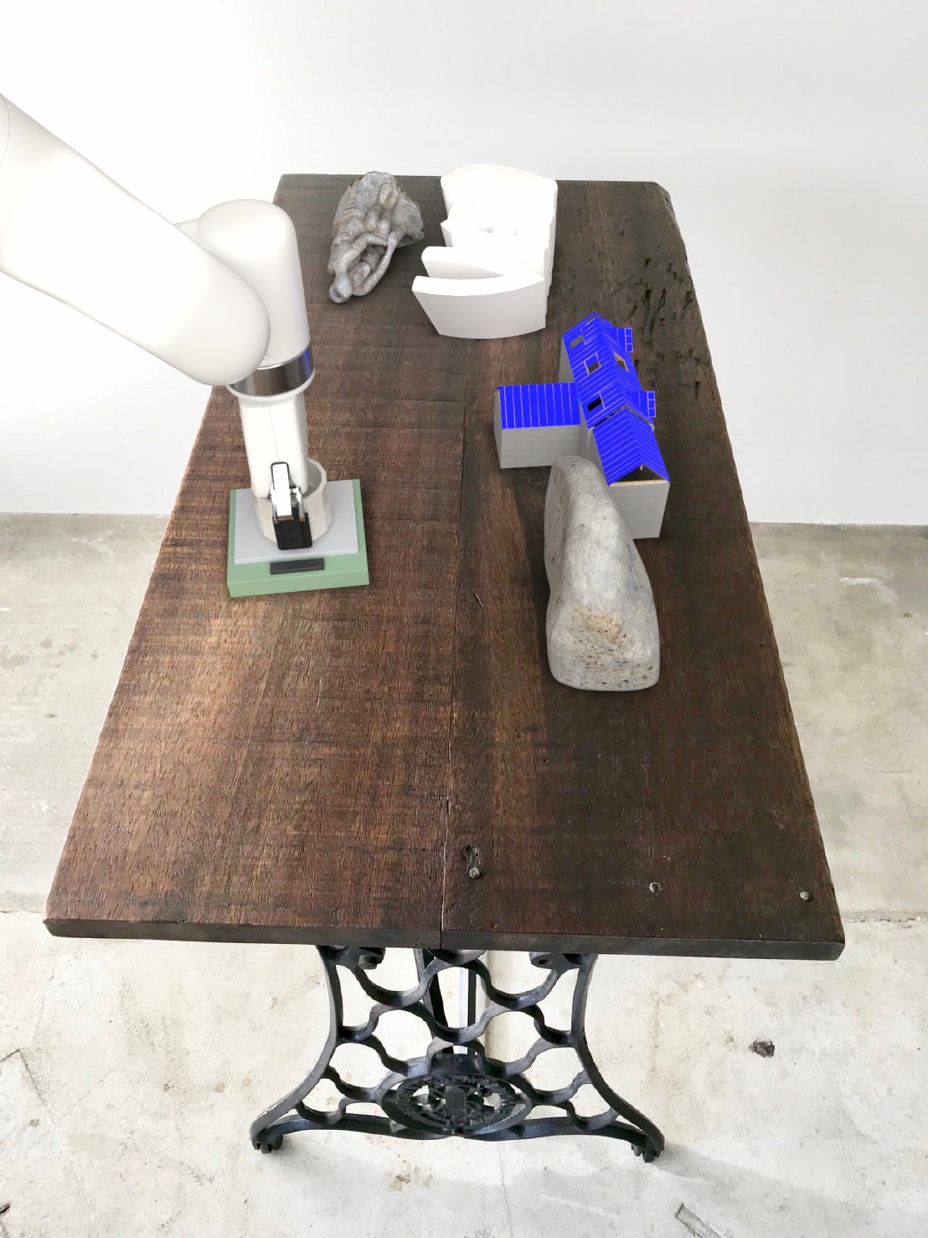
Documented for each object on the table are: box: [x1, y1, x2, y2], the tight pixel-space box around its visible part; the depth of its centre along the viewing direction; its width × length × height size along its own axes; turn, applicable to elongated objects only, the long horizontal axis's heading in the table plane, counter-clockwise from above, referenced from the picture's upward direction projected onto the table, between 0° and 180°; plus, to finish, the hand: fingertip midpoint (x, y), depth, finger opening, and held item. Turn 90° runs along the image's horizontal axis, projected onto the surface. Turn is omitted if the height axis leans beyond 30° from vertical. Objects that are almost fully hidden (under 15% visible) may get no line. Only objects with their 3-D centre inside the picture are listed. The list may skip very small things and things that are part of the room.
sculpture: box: [326, 170, 426, 304], centre depth 125 cm, size 11×18×12 cm
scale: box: [226, 478, 370, 598], centre depth 94 cm, size 13×13×3 cm
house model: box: [493, 310, 671, 540], centre depth 100 cm, size 25×15×10 cm, turn 5°
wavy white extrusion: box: [411, 163, 559, 340], centre depth 123 cm, size 35×16×10 cm, turn 170°
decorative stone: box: [543, 456, 661, 692], centre depth 82 cm, size 17×20×10 cm
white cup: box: [250, 456, 332, 543], centre depth 91 cm, size 7×7×6 cm
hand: (294, 517), depth 93 cm, fingers closed on white cup, 7 cm apart
